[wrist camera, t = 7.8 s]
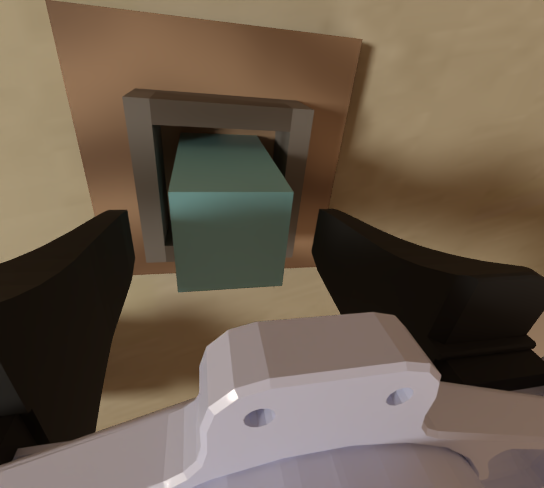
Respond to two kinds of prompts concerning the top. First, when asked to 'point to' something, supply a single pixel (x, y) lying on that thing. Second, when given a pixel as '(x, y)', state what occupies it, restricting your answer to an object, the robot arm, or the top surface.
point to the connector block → (228, 213)
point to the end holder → (199, 110)
